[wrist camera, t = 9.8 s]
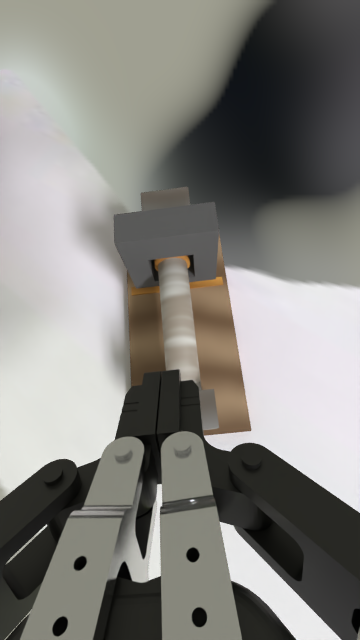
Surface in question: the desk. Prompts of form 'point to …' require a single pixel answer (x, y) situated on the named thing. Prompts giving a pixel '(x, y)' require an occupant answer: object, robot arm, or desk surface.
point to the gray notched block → (168, 241)
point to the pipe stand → (189, 331)
